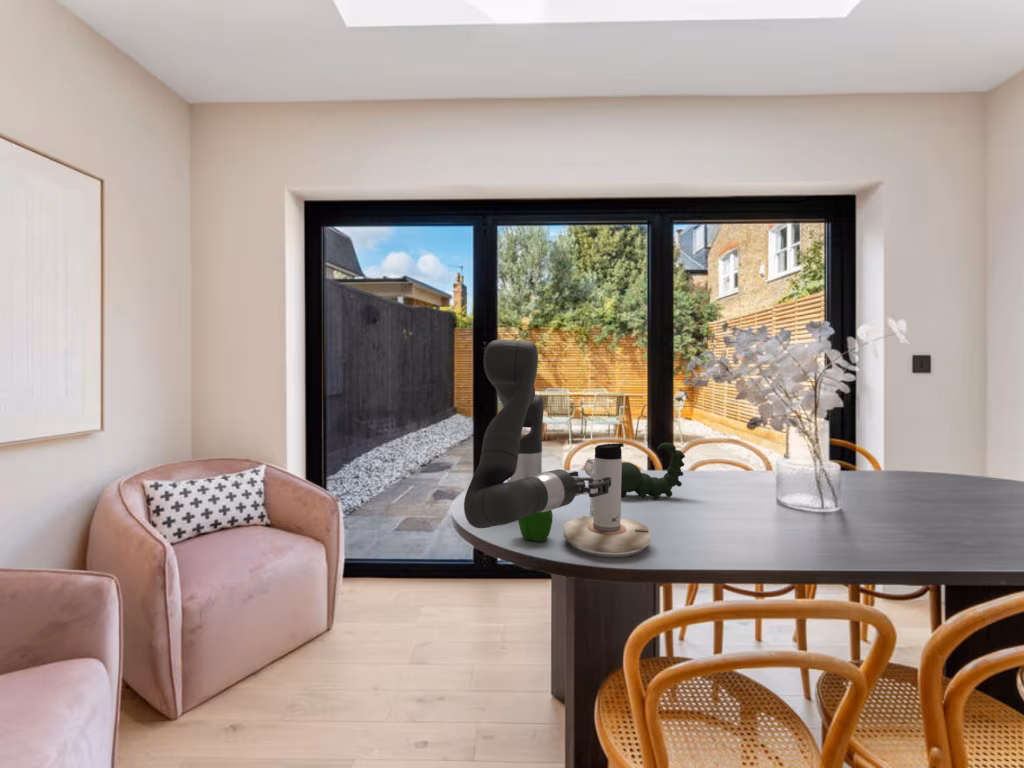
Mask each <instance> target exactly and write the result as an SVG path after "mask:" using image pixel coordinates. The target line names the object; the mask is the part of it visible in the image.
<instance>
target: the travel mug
mask: <svg viewBox="0 0 1024 768" xmlns="http://www.w3.org/2000/svg"><path fill="white" fill-rule="evenodd" d="M622 448H624V443H623V442H619V443H605V444H604V443H603V444H598V445H596V447H594V457H595V460H594V479H601V478H604V477H610V478H611V487H609V493H607V494H604V495H600V496H596V497H594V513H593V520H594V521H593V527H594V528H595V529H596V530H599V531H603V532H615V531H618V530H619V529H620V521H621V518H622V517H621V515H622V514H621V513H622V497H621V474H622V463H623V460H622V459H623V455H622V453H623V452H622ZM596 483H597V482H596Z"/></svg>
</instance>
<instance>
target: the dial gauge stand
mask: <svg viewBox="0 0 1024 768" xmlns="http://www.w3.org/2000/svg"><path fill="white" fill-rule="evenodd" d="M594 460H595V456H592V457H589V458H588V459H587V460H586V461H585V463H584V466H583V468H584V472H585V474H586V475H587V477H591V478H592V479H594ZM593 513H594V497H593V498H591V497H589V516H586V515H585V516H584V515H583V516H582V517H593Z"/></svg>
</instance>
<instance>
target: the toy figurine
mask: <svg viewBox="0 0 1024 768" xmlns="http://www.w3.org/2000/svg"><path fill="white" fill-rule="evenodd" d="M662 449H665V450H667V451H668V452H669V453H672V454H671V458H670V460H669V466H668V467H667V469H666V473H665V474H664V475H663V477H656V476H653V477H652V476H650V475H649V474H647V473H644V472H641V469H640V468H639V467H638V466H637V465H636V464H633V463H632V462H627V461H626V462H622V474H621V498H625V497H626V496H627V493H633V492H635V493H636V494H637V495H638V497H639V498H640V499H645V498H646V497H647V496H650V497H652V498H653V499H654V500H655V499H656V501H657V500H659V499H660V497H661V496H662V495H663V494H664V495H665V496H666V497H668V498H669V497H672V496H673V491H672V489H673V487H675V486H676V487H679V488H680V487H682V485H683V483H682V482H681V481H680V480H679V477H683V476H684V472H683V471H682V467H684V466H685V462H683V460H684V459H685V458H686V455H685V454H684V453H683V452H682V450H679V449H677V448H676V446H675V444H673V443H671V442H662V443H660V444H658V446H657V448H656V450H658V451H659V450H662Z"/></svg>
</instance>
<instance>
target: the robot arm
mask: <svg viewBox="0 0 1024 768" xmlns="http://www.w3.org/2000/svg"><path fill="white" fill-rule="evenodd" d="M538 365H539V353H538V348H537V345H536V344H535V343H534V342H532V341H527V340H516V339H503V338H502V339H495V340H492V341H490V342H489V343H488V344H487V346H486V347H485V350H484V354H483V369H484V373H485V374H486V377H487V380H488V381H489V382H490V383H491V385H492V386H493V387H494V389H495V390H496V393H497V396H498V398H499V400H500V402H501V404H502V408H501V410H500V411H499V412H498V413H497V414H496V415H495V416H494V417H493V418H492V419H491V421H490V422H489V425H488V426H487V428H486V430H485V433H484V435H483V440H482V445H481V453H480V459H479V463H478V465H477V468H476V469H475V471H474V473H473V476H472V477H471V481H470V482H469V485H468V487H467V489H466V492H465V497H464V501H463V511H464V516H465V518H466V520H467V522H468V523H469V525H470V526H472V527H474V528H476V529H487V528H492V527H497V526H504V525H507V524H511V523H514V522H518V520H519V519H521V518H523V517H525V516H529V515H532V514H536V513H539V512H546V511H550V510H551V511H552V510H555V509H559V508H562V507H565V506H568V505H570V504H571V503H572V502H573V501H574V499H575V498H576V497H579V496H581V495H588V497H589V498H590V497H591V498H593V497H596V496H600V495H604V494H607V493H609V487H611V478H610V477H604V478H601V479H592V478H591V477H590V476H579V472H578V471H575V470H574V471H570V472H568V471H567V470H564V469H554V470H549V471H544V472H543V471H542V470H543V467H542V466H543V465H542V463H543V423H544V422H543V421H544V401H543V397H542V396H541V395H537V394H536V388H535V383H536V377H537V374H538V373H537V372H538V367H539V366H538ZM524 428H530V431H529V432H528V433H527V434H526V435H524V436H523V435H522V432H523V429H524ZM506 481H507V482H506ZM586 481H587V486H586V483H585V482H586ZM596 482H597V483H596Z"/></svg>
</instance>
